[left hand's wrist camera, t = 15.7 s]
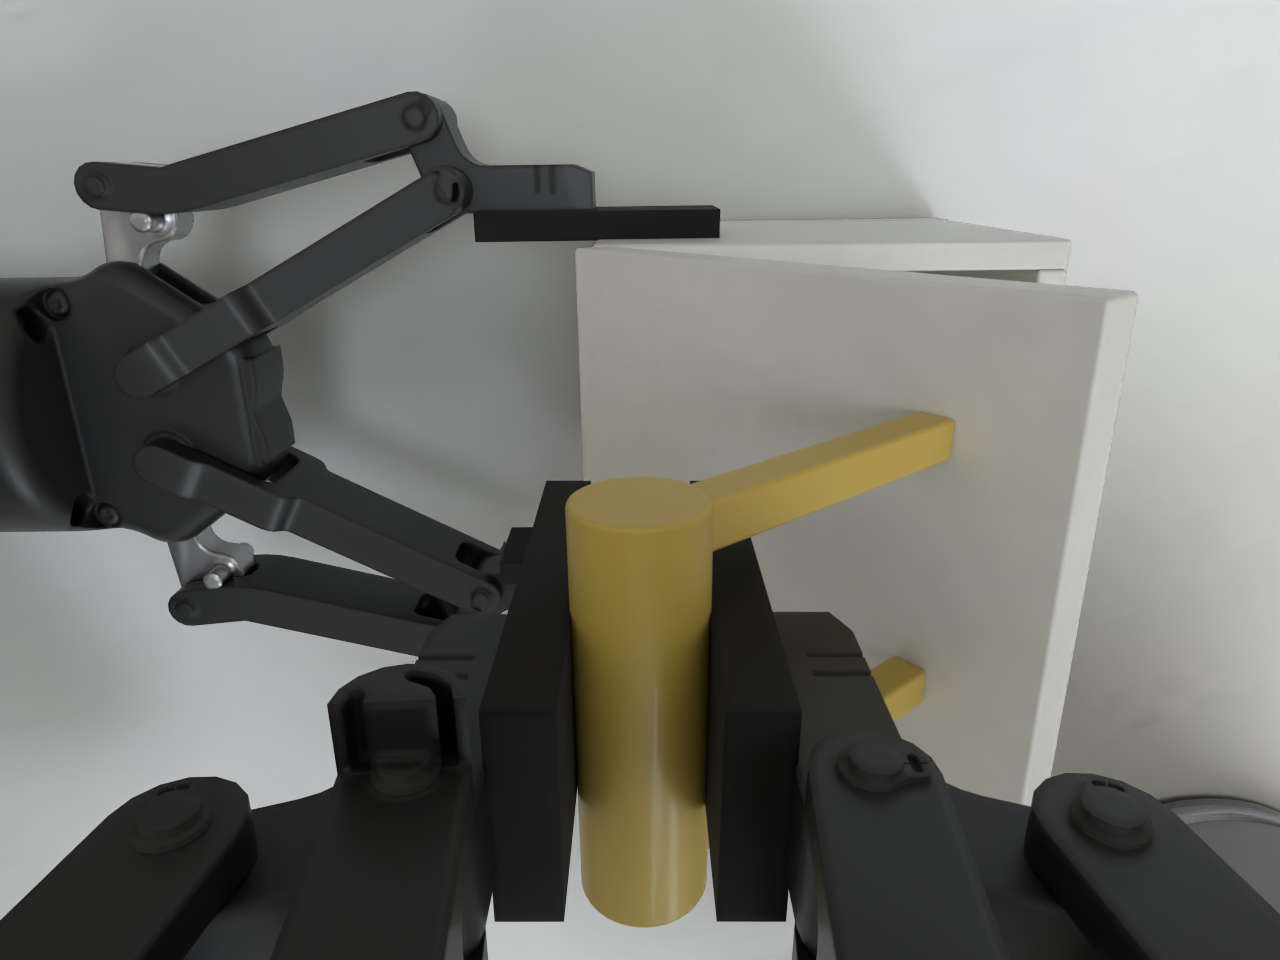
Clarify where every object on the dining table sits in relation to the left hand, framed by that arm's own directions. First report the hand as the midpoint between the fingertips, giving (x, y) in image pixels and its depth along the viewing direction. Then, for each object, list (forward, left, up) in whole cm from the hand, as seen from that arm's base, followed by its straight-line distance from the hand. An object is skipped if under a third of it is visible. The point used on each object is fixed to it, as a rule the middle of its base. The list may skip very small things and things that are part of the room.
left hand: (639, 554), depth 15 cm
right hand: (-2, 0, -11) cm, 12 cm away
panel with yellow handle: (-3, 0, -3) cm, 5 cm away
